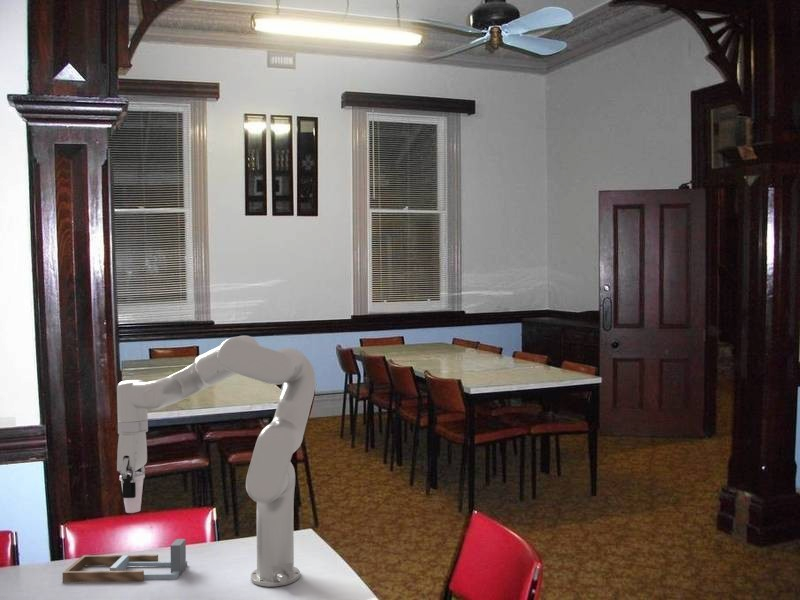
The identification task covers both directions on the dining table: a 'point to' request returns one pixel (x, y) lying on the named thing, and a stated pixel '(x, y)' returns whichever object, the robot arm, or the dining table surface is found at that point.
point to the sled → (159, 562)
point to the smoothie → (135, 503)
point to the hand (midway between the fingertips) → (134, 493)
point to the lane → (105, 576)
